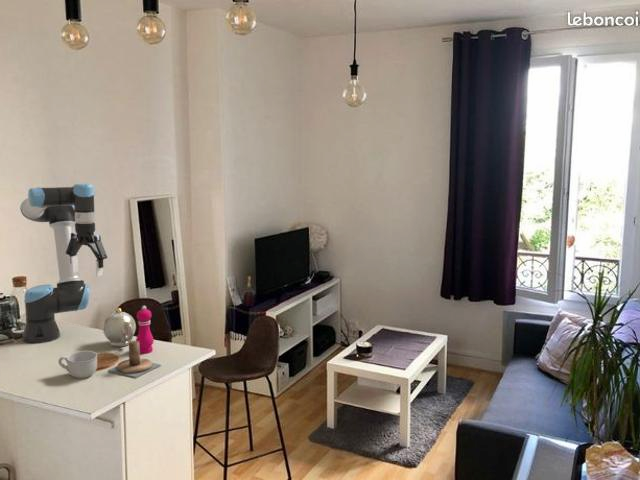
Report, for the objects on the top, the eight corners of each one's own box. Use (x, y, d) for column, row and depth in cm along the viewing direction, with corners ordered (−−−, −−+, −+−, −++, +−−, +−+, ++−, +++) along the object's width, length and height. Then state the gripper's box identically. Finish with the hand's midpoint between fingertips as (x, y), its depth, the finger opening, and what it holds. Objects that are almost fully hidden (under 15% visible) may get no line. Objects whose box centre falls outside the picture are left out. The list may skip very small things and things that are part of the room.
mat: (108, 371, 228) (108, 369, 228) (133, 359, 240) (133, 358, 240) (135, 378, 222) (135, 376, 222) (160, 366, 234) (160, 364, 234)
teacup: (102, 370, 228) (102, 351, 227) (89, 382, 217) (88, 361, 216) (68, 368, 229) (67, 349, 228) (53, 379, 219) (52, 359, 217)
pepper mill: (132, 352, 248) (131, 306, 245) (143, 347, 255) (142, 302, 252) (146, 355, 246) (145, 309, 242) (157, 349, 252) (156, 304, 249)
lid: (110, 369, 228) (109, 344, 226) (134, 359, 239) (133, 335, 238) (135, 376, 222) (134, 350, 221) (158, 364, 234) (158, 340, 232)
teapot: (97, 343, 258) (95, 307, 255) (125, 336, 268) (124, 302, 265) (118, 354, 246) (116, 316, 243) (146, 346, 256) (145, 310, 253)
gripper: (55, 220, 238) (57, 271, 241) (101, 225, 227) (103, 279, 231) (69, 218, 244) (72, 268, 248) (115, 223, 234) (117, 275, 237)
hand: (87, 273), depth 239 cm, fingers open, 13 cm apart
